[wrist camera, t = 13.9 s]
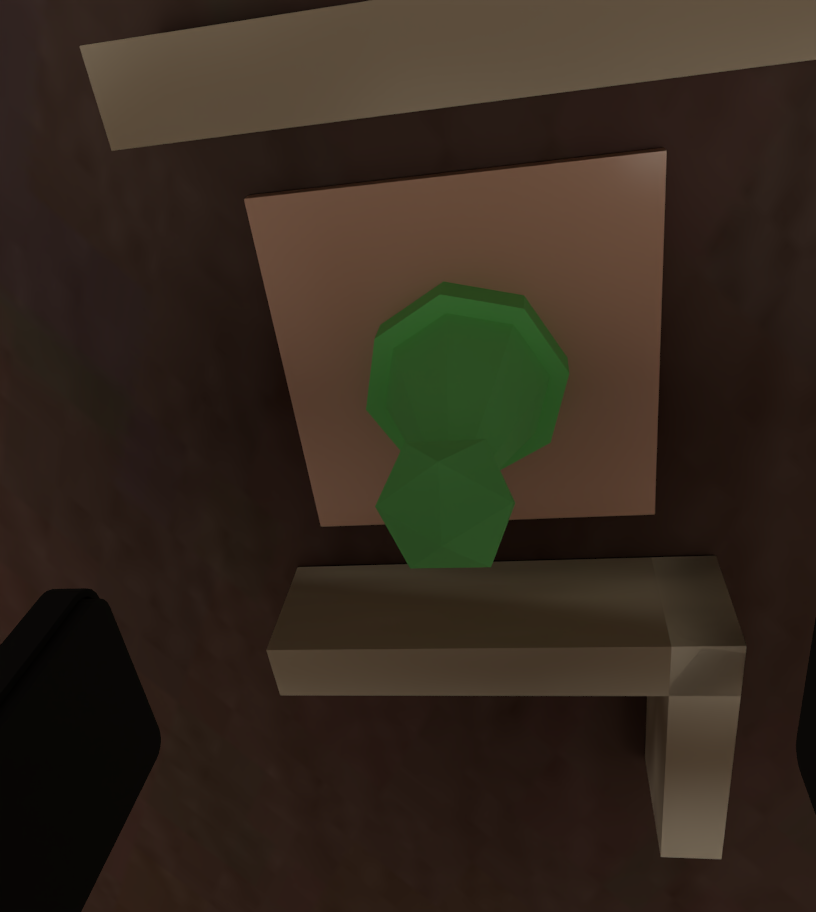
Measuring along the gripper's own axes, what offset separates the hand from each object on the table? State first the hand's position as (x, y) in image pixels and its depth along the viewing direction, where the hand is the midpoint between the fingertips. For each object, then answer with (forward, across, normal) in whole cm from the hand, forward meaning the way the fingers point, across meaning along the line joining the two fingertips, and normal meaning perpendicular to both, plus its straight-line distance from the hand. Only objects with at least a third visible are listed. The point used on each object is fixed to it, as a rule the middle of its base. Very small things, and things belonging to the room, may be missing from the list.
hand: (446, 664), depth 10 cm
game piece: (+8, 0, -1) cm, 8 cm away
